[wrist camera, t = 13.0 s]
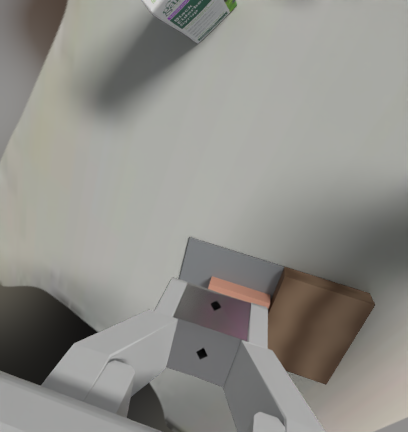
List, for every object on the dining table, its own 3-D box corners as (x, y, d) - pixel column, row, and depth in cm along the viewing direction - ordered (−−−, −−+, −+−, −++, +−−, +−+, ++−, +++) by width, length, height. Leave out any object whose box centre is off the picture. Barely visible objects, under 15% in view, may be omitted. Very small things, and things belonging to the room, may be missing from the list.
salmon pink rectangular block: (270, 294, 45) (270, 303, 43) (258, 324, 47) (257, 334, 45) (211, 276, 45) (209, 283, 44) (202, 306, 48) (200, 314, 46)
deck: (369, 293, 42) (375, 304, 39) (323, 370, 48) (326, 384, 46) (284, 266, 43) (284, 276, 40) (250, 345, 49) (249, 358, 47)
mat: (284, 266, 43) (284, 267, 42) (250, 345, 49) (250, 347, 49) (190, 237, 44) (189, 237, 44) (169, 318, 51) (169, 319, 50)
